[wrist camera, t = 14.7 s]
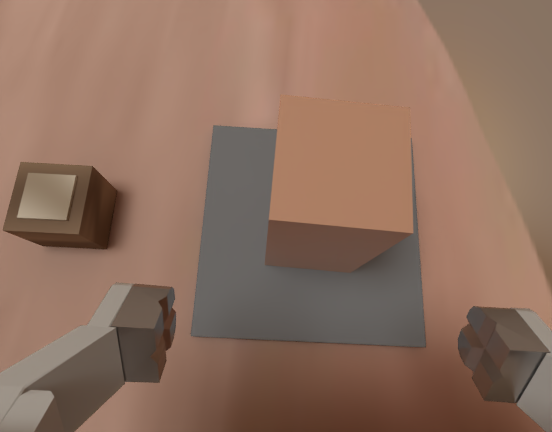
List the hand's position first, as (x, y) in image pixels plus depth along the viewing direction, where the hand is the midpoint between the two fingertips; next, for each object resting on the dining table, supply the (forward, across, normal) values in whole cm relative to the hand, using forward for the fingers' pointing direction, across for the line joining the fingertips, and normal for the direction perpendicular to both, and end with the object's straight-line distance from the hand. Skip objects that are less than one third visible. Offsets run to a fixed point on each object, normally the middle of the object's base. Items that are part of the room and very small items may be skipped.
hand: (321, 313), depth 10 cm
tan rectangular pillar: (+13, -1, +5) cm, 14 cm away
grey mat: (+14, -1, +5) cm, 15 cm away
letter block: (+14, +14, +5) cm, 20 cm away
